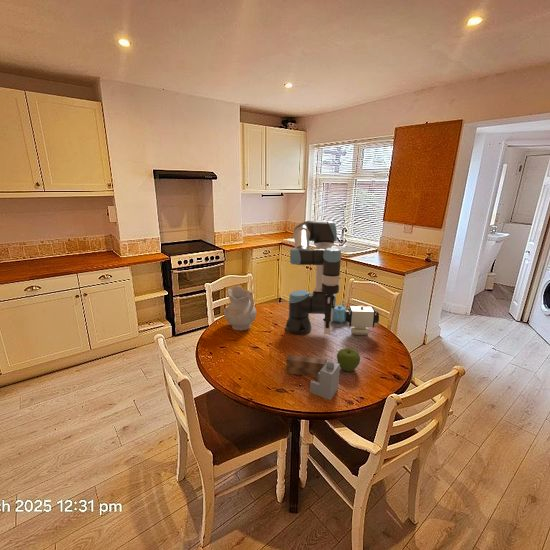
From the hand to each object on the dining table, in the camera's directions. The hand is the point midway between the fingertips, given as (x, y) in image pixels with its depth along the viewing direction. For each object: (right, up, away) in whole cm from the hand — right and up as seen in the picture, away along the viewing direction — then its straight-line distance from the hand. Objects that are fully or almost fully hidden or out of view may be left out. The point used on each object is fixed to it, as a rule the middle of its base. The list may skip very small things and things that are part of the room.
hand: (328, 327), depth 138 cm
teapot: (+16, -5, +52) cm, 55 cm away
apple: (+9, -20, +2) cm, 22 cm away
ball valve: (+24, -10, +35) cm, 44 cm away
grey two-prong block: (-4, -24, -13) cm, 28 cm away
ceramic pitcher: (-45, -8, +44) cm, 63 cm away
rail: (-10, -21, -1) cm, 23 cm away
